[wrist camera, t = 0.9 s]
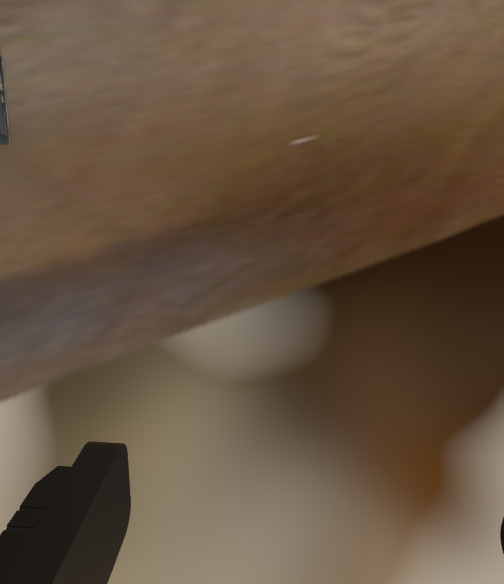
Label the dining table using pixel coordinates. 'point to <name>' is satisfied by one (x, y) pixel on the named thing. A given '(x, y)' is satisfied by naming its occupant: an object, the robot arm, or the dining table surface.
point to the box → (3, 110)
